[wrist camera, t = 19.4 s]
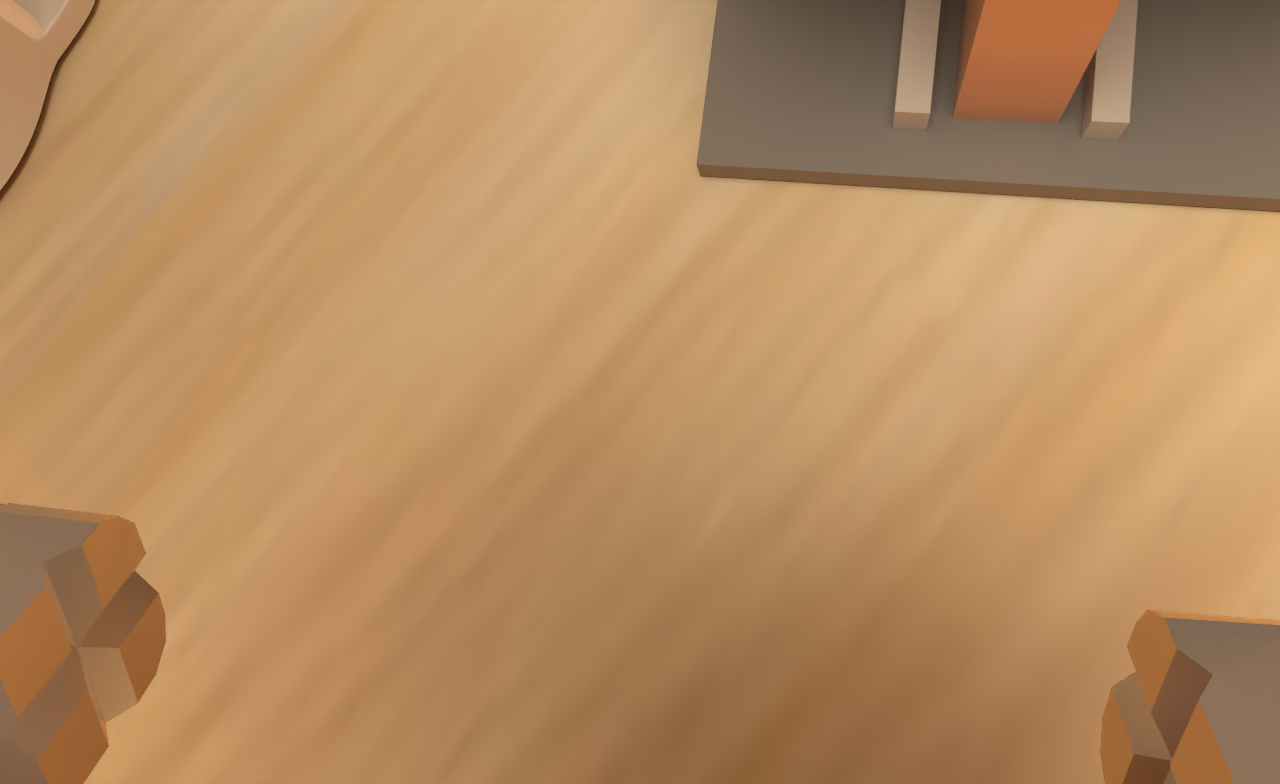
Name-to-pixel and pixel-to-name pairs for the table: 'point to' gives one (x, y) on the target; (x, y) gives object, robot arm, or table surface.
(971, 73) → the tile panel
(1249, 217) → the table surface
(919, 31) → the overhang dock
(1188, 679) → the robot arm
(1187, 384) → the table surface
